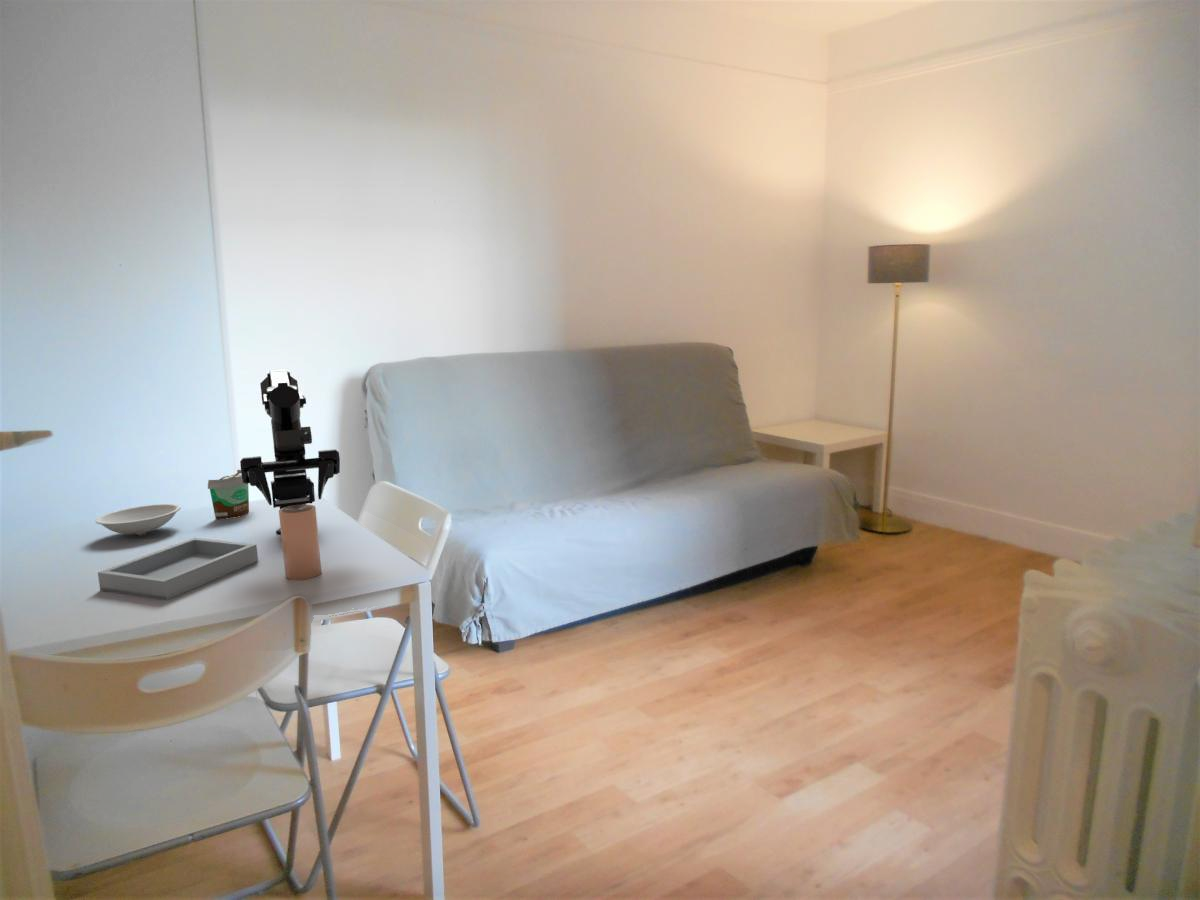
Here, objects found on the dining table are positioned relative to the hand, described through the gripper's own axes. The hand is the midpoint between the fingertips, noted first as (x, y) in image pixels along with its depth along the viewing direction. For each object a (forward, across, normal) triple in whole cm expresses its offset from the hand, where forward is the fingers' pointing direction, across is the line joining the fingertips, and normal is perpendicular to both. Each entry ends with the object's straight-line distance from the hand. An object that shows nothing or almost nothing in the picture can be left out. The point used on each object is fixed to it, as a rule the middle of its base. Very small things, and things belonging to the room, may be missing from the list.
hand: (295, 501), depth 165 cm
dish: (-18, -33, +37) cm, 53 cm away
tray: (+7, -22, +11) cm, 25 cm away
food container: (-24, -12, +43) cm, 51 cm away
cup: (+14, 0, +4) cm, 15 cm away
